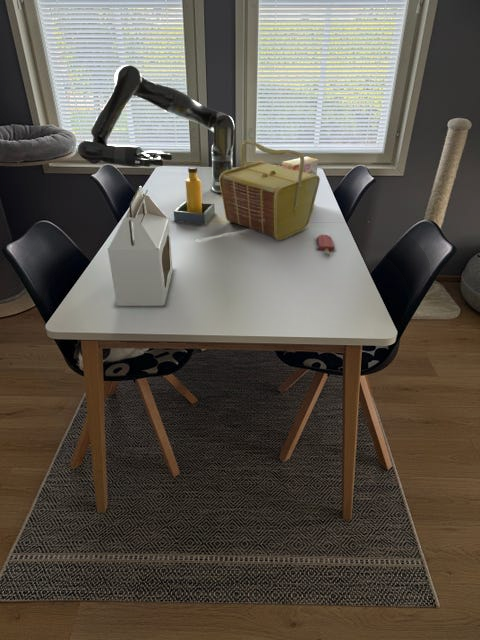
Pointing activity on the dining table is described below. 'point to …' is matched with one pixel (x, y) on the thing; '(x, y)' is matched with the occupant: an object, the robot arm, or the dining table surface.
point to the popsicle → (325, 243)
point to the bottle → (193, 191)
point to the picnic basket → (269, 195)
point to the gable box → (141, 255)
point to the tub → (194, 214)
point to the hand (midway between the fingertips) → (167, 159)
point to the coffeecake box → (309, 165)
